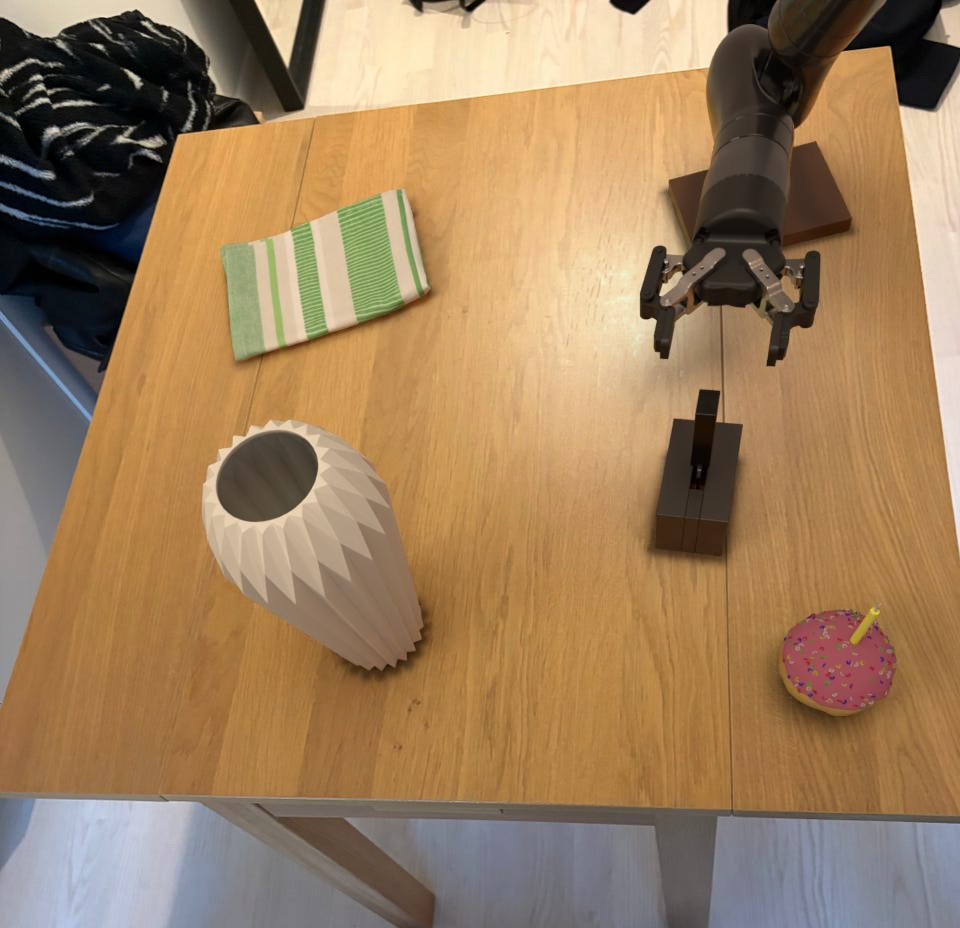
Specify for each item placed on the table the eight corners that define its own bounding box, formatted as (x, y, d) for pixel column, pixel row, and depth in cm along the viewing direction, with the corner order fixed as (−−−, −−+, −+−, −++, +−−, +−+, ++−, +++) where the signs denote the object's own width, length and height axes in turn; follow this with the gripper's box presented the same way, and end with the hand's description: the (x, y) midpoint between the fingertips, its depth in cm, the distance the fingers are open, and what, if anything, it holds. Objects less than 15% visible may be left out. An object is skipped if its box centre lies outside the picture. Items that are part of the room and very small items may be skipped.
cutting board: (813, 153, 90) (816, 140, 89) (849, 230, 85) (852, 218, 84) (668, 191, 92) (668, 179, 90) (695, 268, 87) (696, 257, 85)
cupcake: (815, 614, 70) (848, 547, 59) (903, 676, 67) (955, 618, 56) (750, 684, 69) (771, 629, 58) (836, 751, 66) (875, 706, 55)
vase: (427, 712, 73) (324, 582, 49) (295, 682, 77) (139, 547, 53) (468, 580, 78) (391, 402, 54) (341, 557, 81) (216, 381, 57)
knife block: (735, 462, 77) (743, 423, 72) (721, 556, 74) (728, 522, 68) (671, 456, 79) (673, 417, 73) (654, 548, 75) (656, 514, 70)
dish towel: (226, 256, 100) (216, 238, 98) (409, 199, 98) (403, 179, 96) (239, 366, 93) (228, 349, 91) (436, 306, 91) (431, 287, 89)
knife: (706, 492, 77) (721, 386, 63) (702, 519, 76) (716, 419, 62) (689, 490, 77) (700, 385, 63) (684, 517, 76) (694, 417, 62)
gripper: (661, 170, 70) (629, 317, 65) (838, 171, 67) (819, 327, 61) (659, 241, 77) (630, 380, 72) (819, 246, 74) (801, 393, 68)
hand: (717, 356), depth 67 cm, fingers open, 8 cm apart
